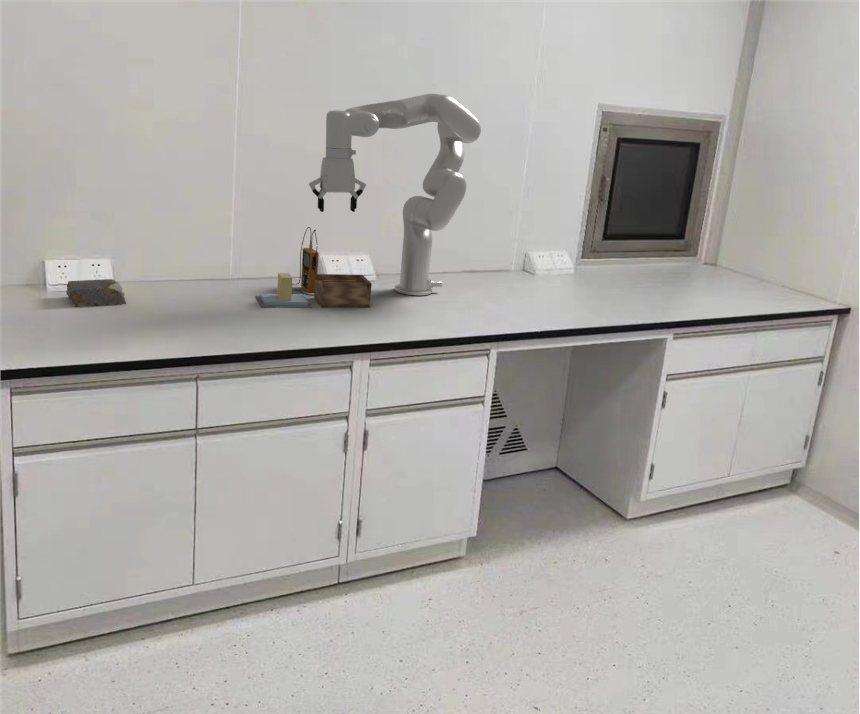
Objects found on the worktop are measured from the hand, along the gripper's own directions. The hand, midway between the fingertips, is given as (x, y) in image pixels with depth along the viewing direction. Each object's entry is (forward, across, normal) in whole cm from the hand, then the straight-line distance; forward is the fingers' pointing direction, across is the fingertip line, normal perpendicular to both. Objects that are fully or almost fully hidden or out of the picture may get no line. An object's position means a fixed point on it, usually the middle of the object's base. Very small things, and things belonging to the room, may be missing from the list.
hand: (337, 211), depth 262 cm
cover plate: (+26, +17, +6) cm, 32 cm away
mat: (+26, +17, +6) cm, 32 cm away
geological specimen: (+25, +70, +6) cm, 75 cm away
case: (+27, -1, +6) cm, 28 cm away
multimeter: (+27, +10, -9) cm, 30 cm away
